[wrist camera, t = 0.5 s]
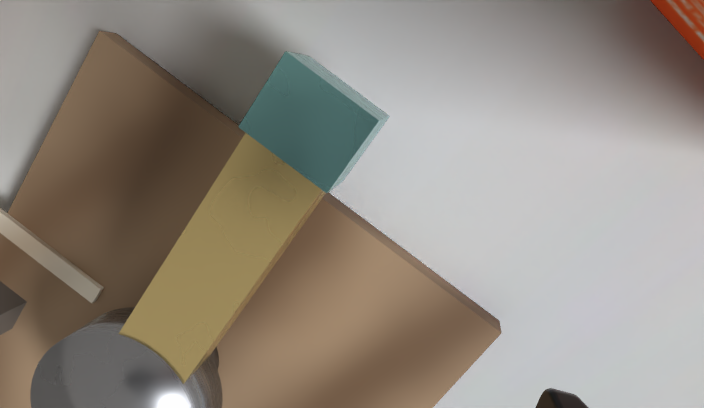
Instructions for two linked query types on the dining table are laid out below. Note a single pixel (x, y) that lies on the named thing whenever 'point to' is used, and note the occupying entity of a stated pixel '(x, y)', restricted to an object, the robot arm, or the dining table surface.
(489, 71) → the dining table surface
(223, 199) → the metal scoop
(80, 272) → the base
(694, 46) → the orange upright rectangular box
